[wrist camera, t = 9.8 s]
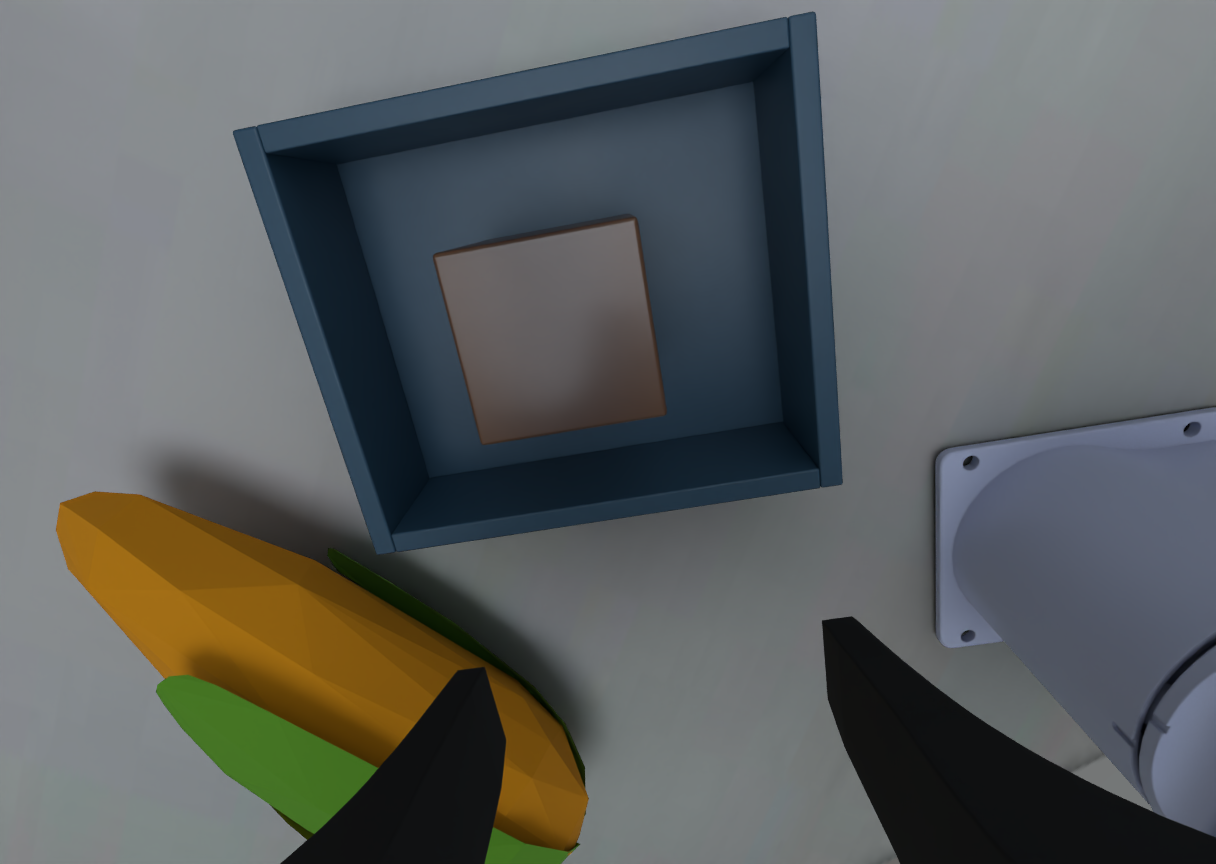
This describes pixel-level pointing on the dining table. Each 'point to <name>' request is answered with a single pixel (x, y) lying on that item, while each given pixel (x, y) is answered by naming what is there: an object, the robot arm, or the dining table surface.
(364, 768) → the corn
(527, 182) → the bin
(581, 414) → the block
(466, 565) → the dining table surface
